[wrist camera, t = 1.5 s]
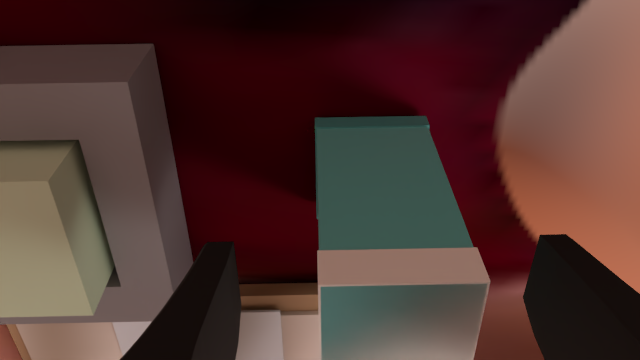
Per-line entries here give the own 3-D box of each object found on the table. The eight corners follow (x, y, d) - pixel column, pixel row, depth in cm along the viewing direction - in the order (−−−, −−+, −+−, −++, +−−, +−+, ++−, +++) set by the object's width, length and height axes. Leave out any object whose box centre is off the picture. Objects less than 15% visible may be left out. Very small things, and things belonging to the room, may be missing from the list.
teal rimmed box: (425, 115, 16) (490, 281, 11) (416, 205, 18) (466, 389, 12) (314, 117, 16) (317, 284, 11) (316, 207, 18) (319, 392, 12)
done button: (85, 127, 15) (47, 181, 13) (120, 252, 17) (93, 315, 15) (-79, 130, 15) (-146, 184, 13) (-22, 255, 17) (-70, 318, 15)
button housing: (153, 43, 15) (127, 81, 13) (193, 264, 19) (179, 320, 17) (-143, 48, 15) (-220, 87, 13) (-35, 269, 19) (-78, 326, 17)
